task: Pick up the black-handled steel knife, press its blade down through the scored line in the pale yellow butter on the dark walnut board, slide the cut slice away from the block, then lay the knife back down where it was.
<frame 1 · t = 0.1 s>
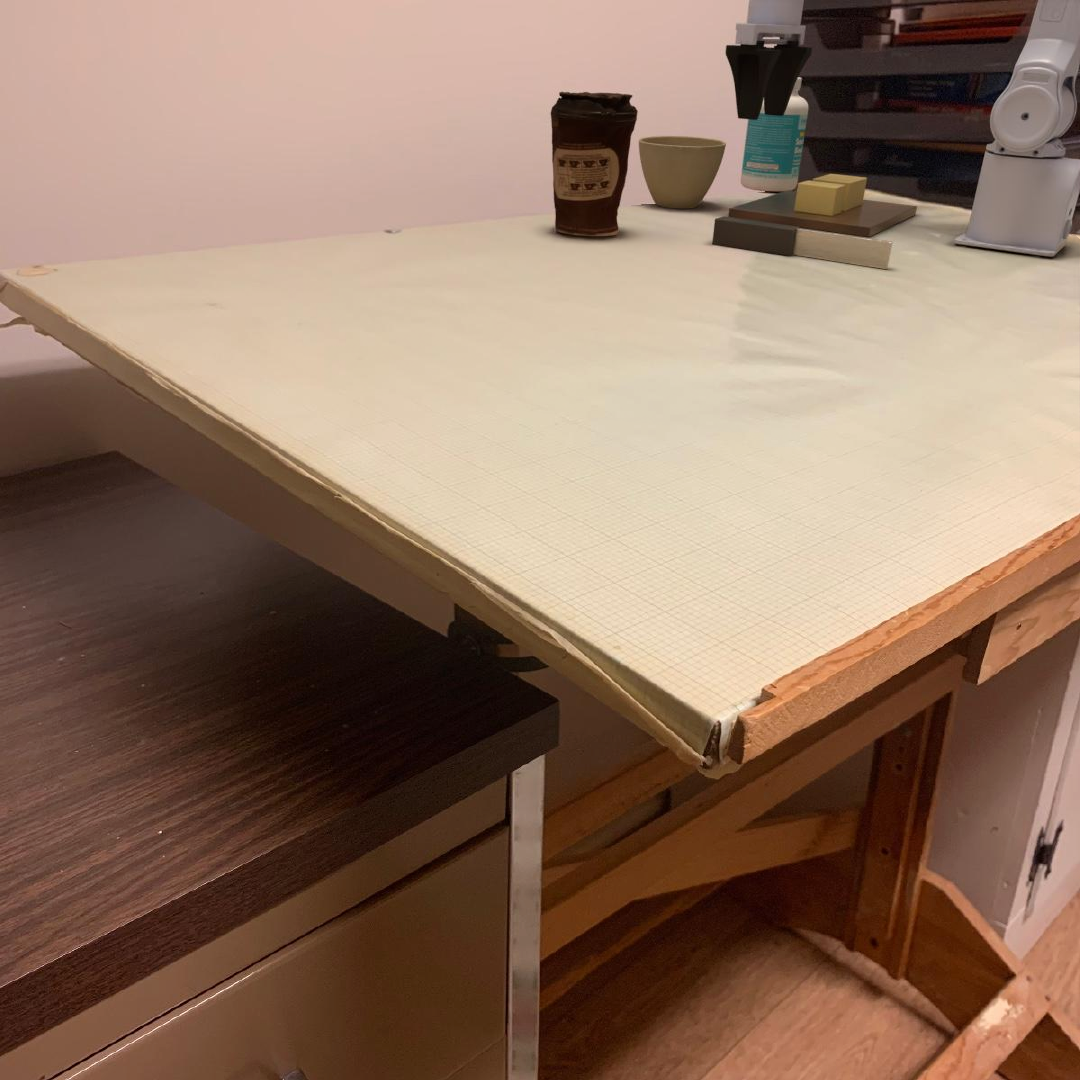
hand: (761, 117, 111), 10 cm above the table, tool pointing down, fingers open, 7 cm apart
coffee cup: (586, 234, 100), on the table
butter slice: (817, 212, 110), point 1 cm above the table, touching butter board
knife: (792, 254, 94), on the table
pill bottle: (767, 190, 131), on the table
tan bowl: (676, 206, 117), on the table
butter board: (824, 216, 114), on the table
butter block: (835, 205, 115), point 1 cm above the table, touching butter board
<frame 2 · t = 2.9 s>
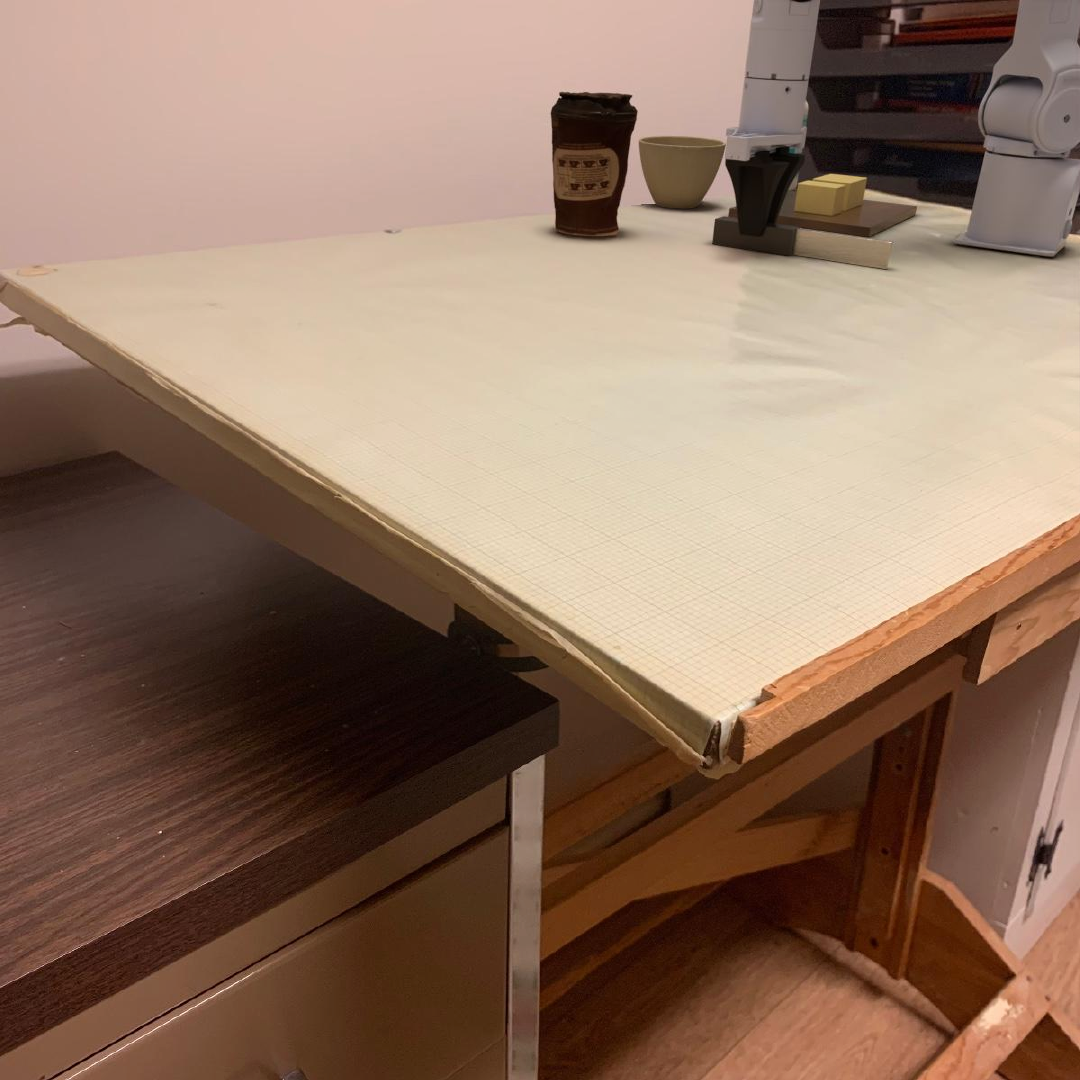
hand: (755, 233, 96), 1 cm above the table, tool pointing down, fingers closed on knife, 2 cm apart
knife: (792, 254, 94), on the table, touching gripper
everything else where it was.
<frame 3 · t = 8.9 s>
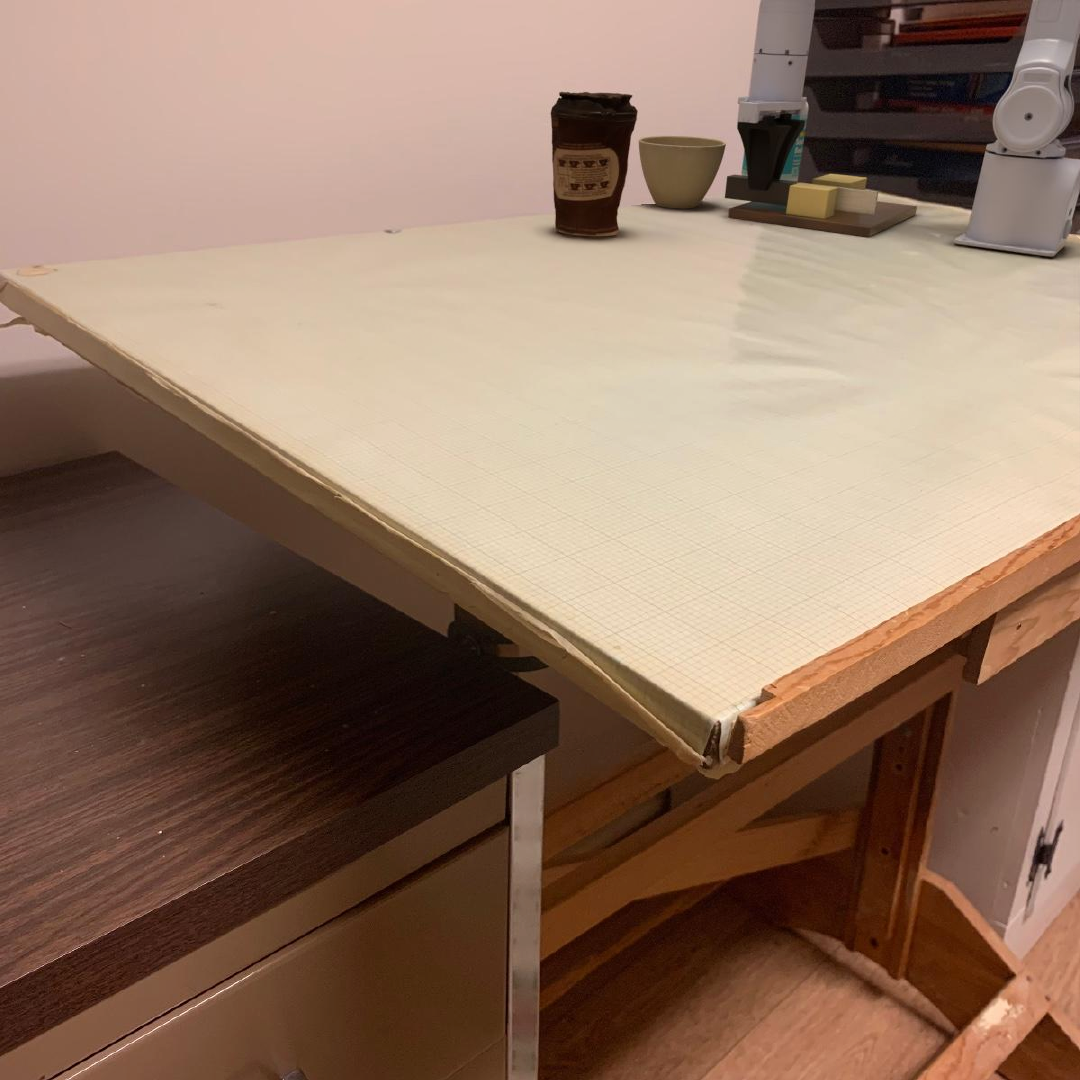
hand: (762, 188, 112), 3 cm above the table, tool pointing down, fingers closed on knife, 2 cm apart
butter slice: (809, 214, 108), point 1 cm above the table, touching butter board, knife
knife: (794, 205, 110), point 2 cm above the table, touching butter slice, gripper
everything else where it was.
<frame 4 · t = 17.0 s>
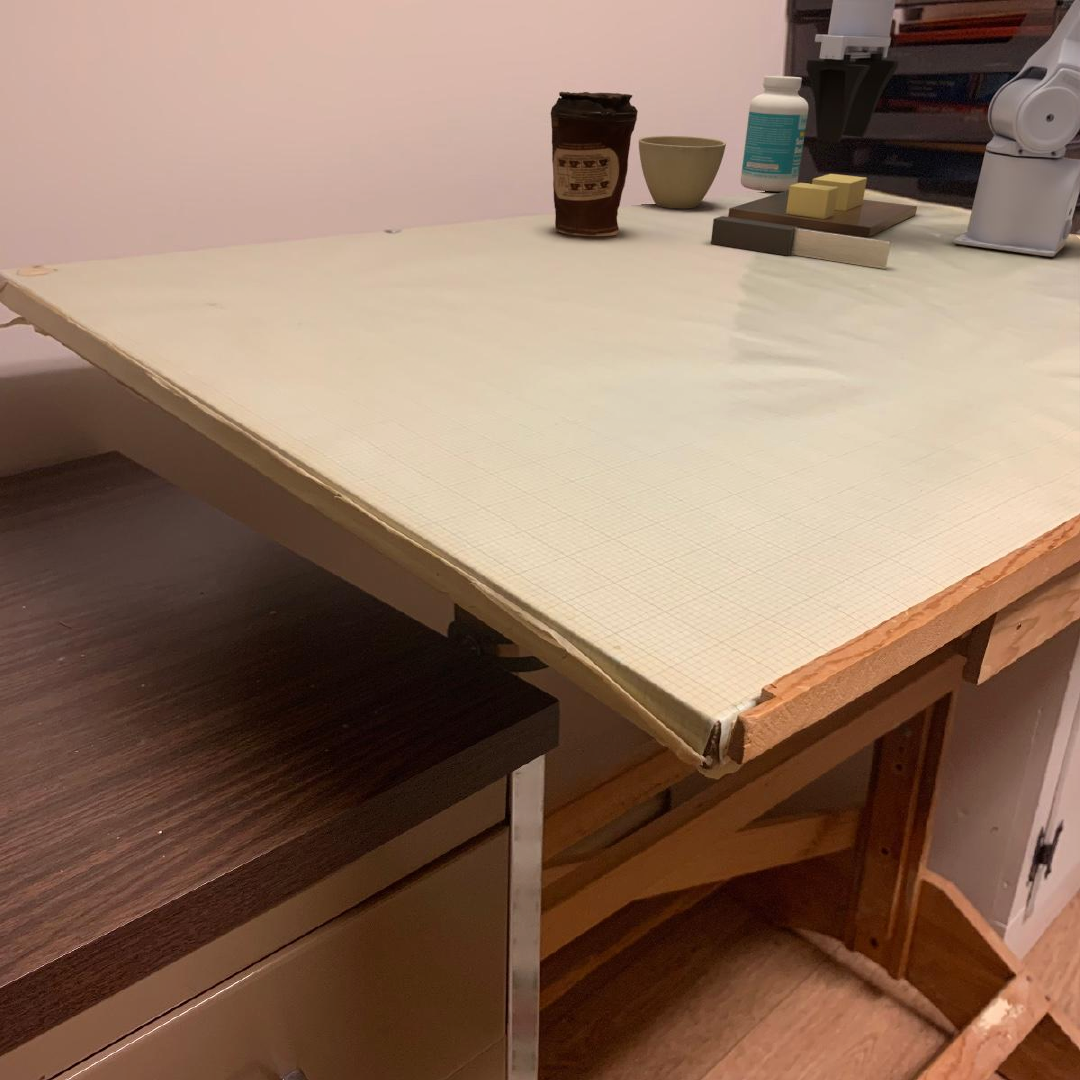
hand: (841, 138, 99), 9 cm above the table, tool pointing down, fingers open, 7 cm apart
butter slice: (809, 214, 108), point 1 cm above the table, touching butter board
knife: (791, 254, 94), on the table
everything else where it was.
at the end: butter slice moved 2.4 cm from its start; butter block moved 0.0 cm from its start; knife inside the target area (0.1 cm from its centre), on the table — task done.
